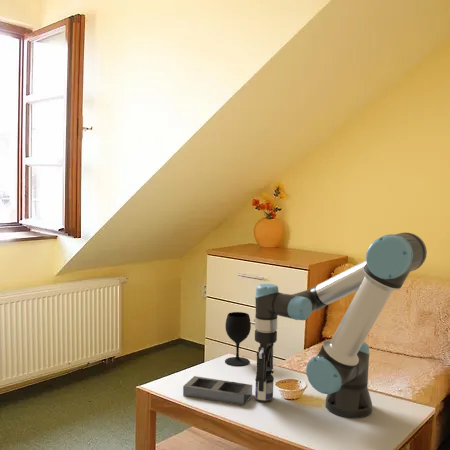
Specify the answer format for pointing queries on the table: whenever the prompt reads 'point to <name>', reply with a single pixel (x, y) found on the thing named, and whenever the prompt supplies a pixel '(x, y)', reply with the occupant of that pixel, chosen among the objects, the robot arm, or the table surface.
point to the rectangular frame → (218, 390)
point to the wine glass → (237, 335)
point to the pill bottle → (269, 386)
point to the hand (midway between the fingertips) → (264, 395)
